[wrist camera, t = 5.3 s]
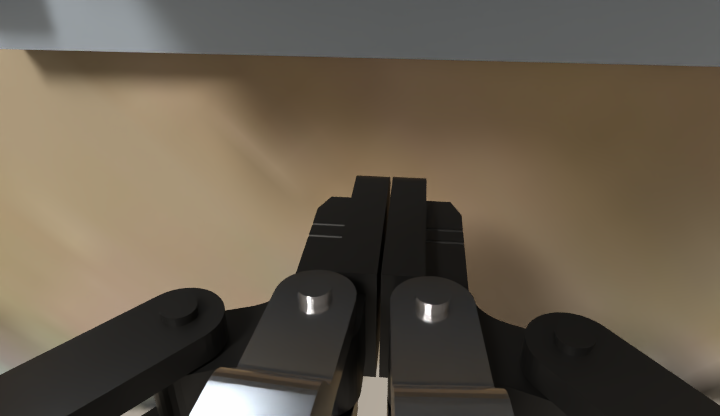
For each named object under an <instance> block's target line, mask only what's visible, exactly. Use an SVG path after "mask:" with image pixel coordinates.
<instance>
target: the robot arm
mask: <svg viewBox="0 0 720 416" xmlns="http://www.w3.org/2000/svg"><path fill="white" fill-rule="evenodd" d="M390 184H391V183H390V177H377V176H357V177H356V181H355V185H354V189H353V193H352V197H351V198H349V197H331V198H329V199H328V200H327V201H326V202H325V203H324V204H322V205H321V206H320V207H319V208H318V210H317V213H316V215H315V218H314V221H313V225H312V227H311V230H310V233H309V237H308V239H307V242H306V245H305V248H304V251H303V254H302V257H301V260H300V263H299V266H298V269H297V272H296V274H293V275H291V276H289V277H287V278H286V279H284V280H283V281H282V282H281V283H280V284H279V285H278V286H277V288H276V289H275V291H274V293H273V295H272V297H271V299H270V301H268V302H266V303H263V304H260V305H256V306H251V307H245V308H238V309H232V310H226V311H225V307H224V303H223V301H222V300H221V298H220V297H219V296H218V295H216V294H215V293H213V292H211V291H208V290H205V289H200V288H183V289H177V290H172V291H169V292H166V293H163V294H161V295H159V296H157V297H155V298H153V299H151V300H149V301H147V302H145V303H143V304H141V305H139V306H137V307H135V308H133V309H131V310H129V311H127V312H125V313H123V314H121V315H119V316H117V317H115V318H113V319H111V320H109V321H107V322H105V323H103V324H101V325H99V326H97V327H95V328H93V329H91V330H89V331H87V332H85V333H83V334H81V335H79V336H77V337H75V338H73V339H71V340H69V341H67V342H65V343H63V344H61V345H59V346H57V347H55V348H53V349H51V350H49V351H47V352H45V353H43V354H41V355H39V356H37V357H35V358H33V359H31V360H29V361H27V362H25V363H23V364H21V365H19V366H17V367H15V368H13V369H11V370H9V371H7V372H5V373H3V374H1V375H0V416H120V415H122V414H124V413H125V412H127V411H129V410H130V409H132V408H134V407H135V406H137V405H138V404H140V403H142V402H143V401H145V400H147V399H148V398H150V397H151V396H153V395H154V399H155V402H156V407H154V408H153V409H151V410H150V411H148V412H147V413H145V414H143V415H142V416H357V411H358V399H359V397H360V393H361V387H362V380H363V376H370V377H376V369H377V360H378V350H379V341H380V365H379V377H386V378H388V397H387V416H720V405H718V404H717V403H715V402H714V401H712V400H711V399H709V398H708V397H706V396H705V395H704V394H702V393H701V392H699V391H698V390H696V389H695V388H693V387H692V386H690V385H689V384H687V383H686V382H684V381H683V380H682V379H680V378H679V377H677V376H676V375H674V374H673V373H671V372H670V371H668V370H667V369H665V368H664V367H662V366H661V365H660V364H658V363H657V362H655V361H654V360H652V359H651V358H649V357H648V356H646V355H645V354H643V353H642V352H640V351H639V350H638V349H636V348H635V347H633V346H632V345H630V344H629V343H627V342H626V341H624V340H623V339H621V338H620V337H618V336H617V335H616V334H614V333H613V332H611V331H610V330H608V329H607V328H605V327H604V326H602V325H601V324H599V323H597V322H595V321H593V320H591V319H589V318H586V317H583V316H580V315H576V314H571V313H559V312H557V313H548V314H544V315H541V316H539V317H537V318H535V319H533V320H532V321H531V322H530V323H529V324H528V326H527V328H526V329H525V328H521V327H518V326H515V325H511V324H508V323H505V322H502V321H499V320H497V319H495V318H493V317H491V316H489V315H488V314H486V313H485V312H483V311H482V310H481V309H479V308H478V307H477V305H476V304H475V300H474V298H473V296H472V295H471V293H470V292H469V290H468V281H467V270H466V259H465V248H464V238H463V227H462V216H461V214H460V213H459V212H458V211H457V210H456V208H455V207H454V206H453V205H452V204H451V202H436V201H426V179H425V178H402V177H393V181H392V189H391V197H390Z"/></svg>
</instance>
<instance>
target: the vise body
mask: <svg viewBox="0 0 720 416" xmlns="http://www.w3.org/2000/svg"><path fill="white" fill-rule="evenodd" d="M0 49H26V50H66V51H107V52H147V53H187V54H227V55H267V56H308V57H348V58H388V59H428V60H468V61H508V62H549V63H589V64H629V65H669V66H709V67H720V0H0Z"/></svg>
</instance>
